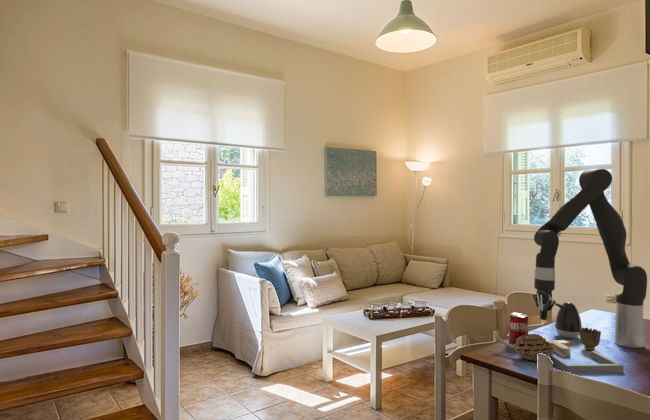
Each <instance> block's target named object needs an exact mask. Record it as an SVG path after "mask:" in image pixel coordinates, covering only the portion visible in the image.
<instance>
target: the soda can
mask: <svg viewBox="0 0 650 420" xmlns="http://www.w3.org/2000/svg"><path fill="white" fill-rule="evenodd" d="M522 335H523V336H524V335H526V336H528V335H529V316H528V315H527V314H525V313H520V312H511V313H510V314H509V315H508V343H509V344H510V343H511V344H513V345H515V342H516V339H518V338H519V337H521V336H522Z"/></svg>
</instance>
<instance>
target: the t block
mask: <svg viewBox="0 0 650 420" xmlns="http://www.w3.org/2000/svg"><path fill="white" fill-rule="evenodd" d="M546 341H547V342H549V343H551V346H552V347H553V348H554V350H553V352H554V353H556V354H557V355H560V357H565V358H566V357H571V342H570V341H568V340H564V339H561V340H558V339H557V340H555V339H553V340H552V339H551V340H550V339H549V340H548V339H547V340H546Z"/></svg>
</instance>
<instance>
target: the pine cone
mask: <svg viewBox="0 0 650 420" xmlns="http://www.w3.org/2000/svg"><path fill="white" fill-rule="evenodd" d="M495 338H496V340H497V341H498V342H499V343H500V344H503V345H505V346H506V347H509V348H510V349H513V350H514V351H515V352H517V356H518V357H519V358H520V359H525V360H527V361H529V360H530V361H532V360H533V361H535V362H537V361H538V360H537V354H538V353H543V354H546V355H547V356H549V357H551V356H552V355H554V353H555V352H554V351H553V350H554V348H553V347H552V346H551V343H549V342H547V341H546V338H545V337H543V336H542V335H540V334H538V333H537V334H536V333H531V334H530V333H528V336H526V335H524V336H523V335H522V336H521V337H519V338H518V339H516V342H515V345H512V344H510V342H507V341H505V340H504V339H502V338H501V337H500V336H498V335H497V334H496V335H495Z"/></svg>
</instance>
